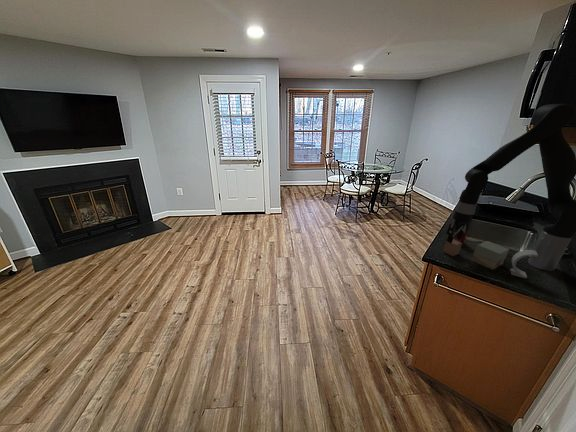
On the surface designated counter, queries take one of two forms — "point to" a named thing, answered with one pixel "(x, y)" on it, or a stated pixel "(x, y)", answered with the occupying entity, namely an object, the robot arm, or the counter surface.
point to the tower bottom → (486, 261)
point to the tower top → (491, 251)
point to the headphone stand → (518, 256)
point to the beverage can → (461, 239)
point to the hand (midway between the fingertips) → (454, 240)
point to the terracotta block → (452, 247)
